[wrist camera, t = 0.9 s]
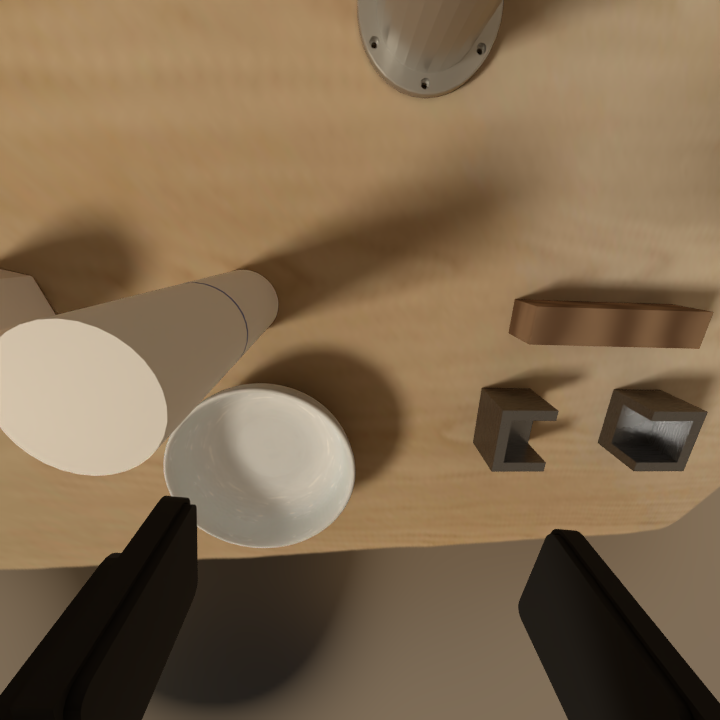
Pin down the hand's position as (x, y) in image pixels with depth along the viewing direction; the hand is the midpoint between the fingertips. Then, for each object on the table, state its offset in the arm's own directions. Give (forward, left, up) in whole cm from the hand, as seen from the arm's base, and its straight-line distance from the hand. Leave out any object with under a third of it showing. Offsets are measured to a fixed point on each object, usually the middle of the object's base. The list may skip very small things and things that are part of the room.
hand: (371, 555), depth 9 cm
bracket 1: (+13, +20, -31) cm, 39 cm away
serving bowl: (+17, -10, -32) cm, 37 cm away
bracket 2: (+13, +36, -31) cm, 50 cm away
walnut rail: (0, +28, -32) cm, 42 cm away
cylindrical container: (-1, -12, -32) cm, 34 cm away
